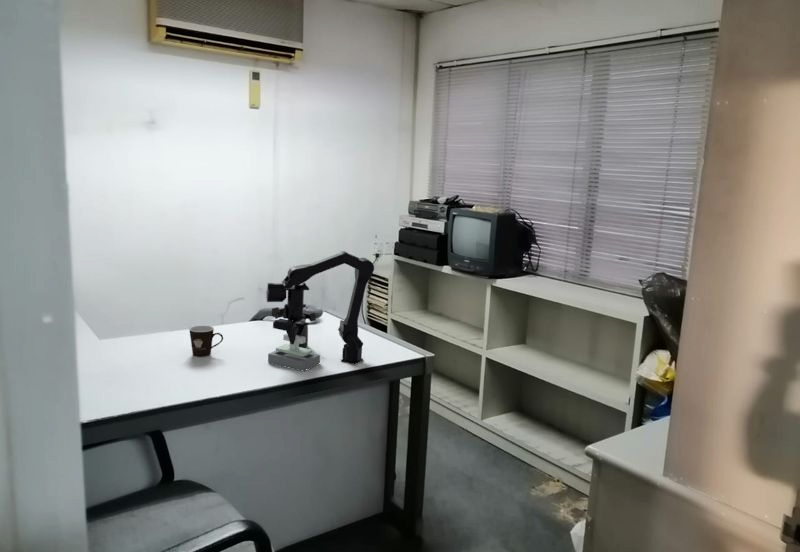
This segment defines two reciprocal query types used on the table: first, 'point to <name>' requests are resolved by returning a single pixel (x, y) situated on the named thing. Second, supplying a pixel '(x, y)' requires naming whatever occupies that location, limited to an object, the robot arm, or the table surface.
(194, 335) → the coffee mug
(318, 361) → the case
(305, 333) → the supplement bottle
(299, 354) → the cover
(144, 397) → the table surface
